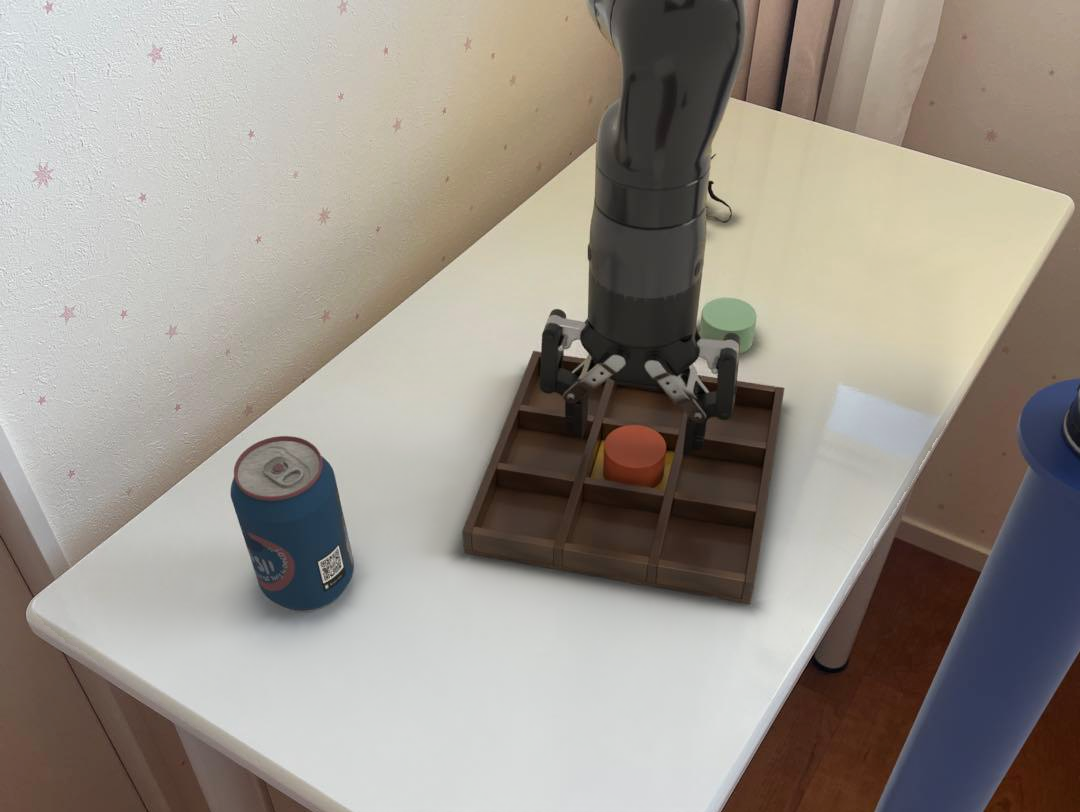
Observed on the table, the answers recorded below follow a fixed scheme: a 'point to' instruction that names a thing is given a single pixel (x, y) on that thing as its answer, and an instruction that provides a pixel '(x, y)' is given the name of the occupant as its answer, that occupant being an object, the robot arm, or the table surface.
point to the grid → (630, 490)
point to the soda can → (292, 522)
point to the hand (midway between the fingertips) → (633, 439)
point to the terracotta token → (634, 456)
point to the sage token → (728, 321)
